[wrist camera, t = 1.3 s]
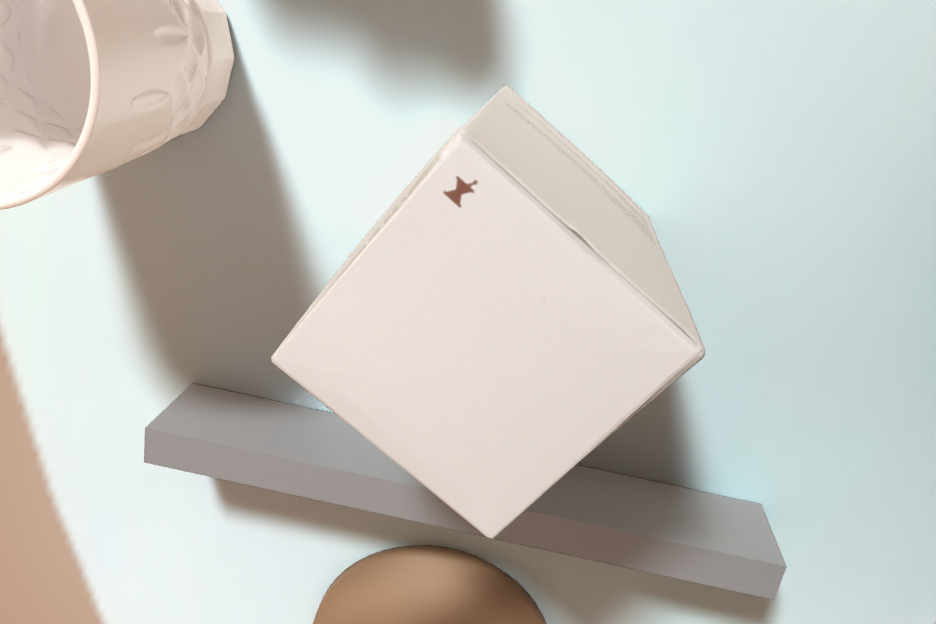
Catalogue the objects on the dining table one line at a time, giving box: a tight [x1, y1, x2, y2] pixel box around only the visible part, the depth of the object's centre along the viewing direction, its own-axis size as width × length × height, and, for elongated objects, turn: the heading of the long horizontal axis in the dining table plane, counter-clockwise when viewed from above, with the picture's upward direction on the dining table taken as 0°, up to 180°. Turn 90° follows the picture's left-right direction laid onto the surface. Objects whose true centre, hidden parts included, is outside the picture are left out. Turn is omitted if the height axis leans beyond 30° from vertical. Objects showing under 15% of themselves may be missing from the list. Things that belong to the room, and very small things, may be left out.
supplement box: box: [271, 85, 705, 539], centre depth 24 cm, size 7×7×13 cm
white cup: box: [0, 0, 234, 210], centre depth 24 cm, size 8×8×10 cm
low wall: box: [144, 383, 787, 600], centre depth 31 cm, size 24×2×4 cm, turn 80°
